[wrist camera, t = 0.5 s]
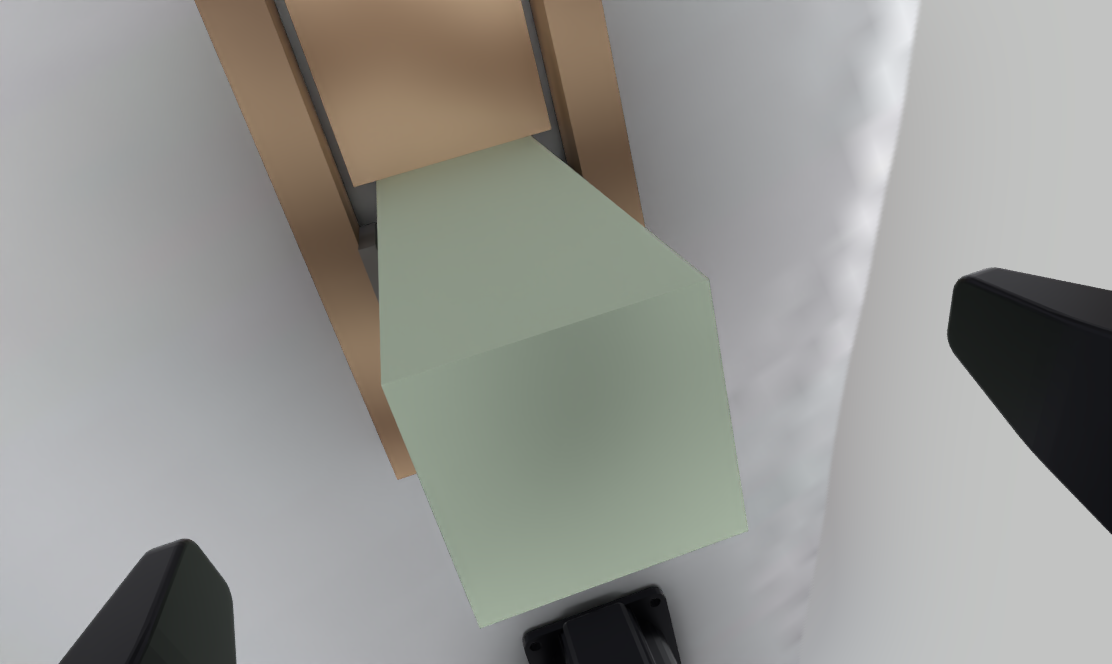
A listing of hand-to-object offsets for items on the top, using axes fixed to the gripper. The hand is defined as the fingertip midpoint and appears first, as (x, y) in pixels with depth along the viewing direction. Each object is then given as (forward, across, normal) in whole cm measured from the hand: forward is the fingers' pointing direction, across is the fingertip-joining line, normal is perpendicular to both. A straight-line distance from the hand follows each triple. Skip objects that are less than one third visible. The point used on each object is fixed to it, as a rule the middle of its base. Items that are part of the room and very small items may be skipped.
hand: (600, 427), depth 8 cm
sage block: (+16, 0, +5) cm, 17 cm away
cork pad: (+17, 0, 0) cm, 17 cm away
